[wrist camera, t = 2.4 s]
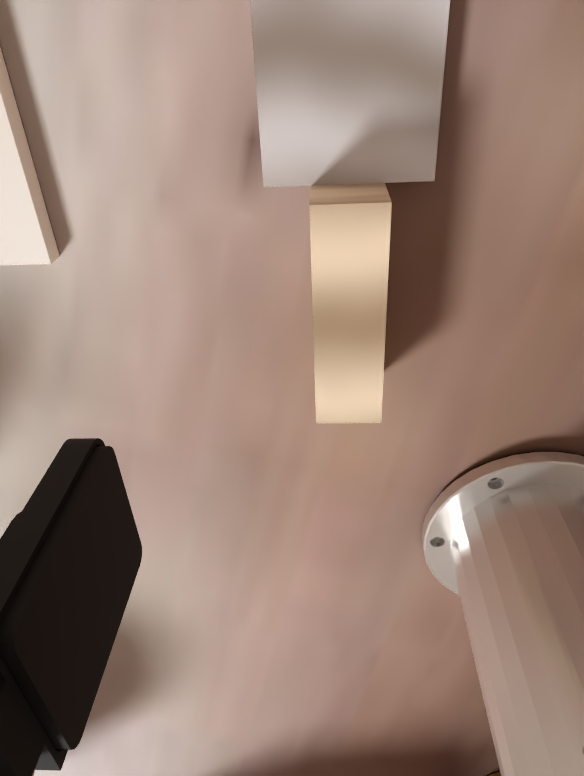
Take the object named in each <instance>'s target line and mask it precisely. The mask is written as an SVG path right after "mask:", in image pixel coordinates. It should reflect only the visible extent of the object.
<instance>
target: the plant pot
mask: <svg viewBox="0 0 584 776" xmlns="http://www.w3.org/2000/svg"><path fill="white" fill-rule="evenodd" d="M488 776H501V772H497V773H494V774H491V775H488Z"/></svg>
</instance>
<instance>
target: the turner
mask: <svg viewBox="0 0 584 776" xmlns="http://www.w3.org/2000/svg"><path fill="white" fill-rule="evenodd" d="M250 8H251V21H252V35H253V49H254V62H255V76H256V89H257V103H258V117H259V130H260V144H261V158H262V171H263V185H264V187H287V186H312V187H311V197H310V236H311V268H312V301H313V334H314V366H315V399H316V423H381V417H382V396H383V375H384V354H385V333H386V312H387V291H388V270H389V249H390V228H391V208H392V202H391V199H390V196H389V193H388V190H387V187H386V185H385V183H396V182H423V181H434V180H435V169H436V157H437V146H438V134H439V123H440V111H441V100H442V88H443V77H444V65H445V54H446V42H447V31H448V19H449V8H450V0H250Z"/></svg>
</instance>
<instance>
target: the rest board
mask: <svg viewBox="0 0 584 776" xmlns="http://www.w3.org/2000/svg"><path fill="white" fill-rule="evenodd" d="M58 257H59V252H58V248H57V245H56V241H55V238H54V234H53V231H52V227H51V224H50V220H49V217H48V213H47V210H46V206H45V203H44V199H43V196H42V192H41V189H40V185H39V182H38V178H37V174H36V171H35V167H34V164H33V160H32V157H31V153H30V150H29V146H28V143H27V139H26V136H25V132H24V129H23V125H22V122H21V118H20V115H19V111H18V108H17V104H16V100H15V97H14V93H13V90H12V86H11V83H10V79H9V76H8V72H7V69H6V65H5V62H4V58H3V55H2V51H1V48H0V265H28V264H51V263H52V262H54V261H55V260H56V259H57V258H58Z"/></svg>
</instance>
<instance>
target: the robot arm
mask: <svg viewBox="0 0 584 776" xmlns="http://www.w3.org/2000/svg"><path fill="white" fill-rule="evenodd" d="M422 543H423V550H424V554H425V559H426V563H427V565H428V567H429V568H430V570H431V572H432V574H433V575H434V576H435V577H436V579H437V580H438V581H439V582H440V583H441V584H442V585H443V586H445V587H446V588H448V589H449V590H451V591H452V592H454V593H455V594H457V595H459V596H460V599H461V603H462V608H463V612H464V616H465V621H466V625H467V629H468V634H469V638H470V642H471V647H472V651H473V655H474V660H475V664H476V668H477V673H478V677H479V681H480V686H481V690H482V694H483V699H484V703H485V707H486V712H487V716H488V720H489V725H490V729H491V733H492V738H493V742H494V746H495V751H496V755H497V759H498V764H499V768H500V772H501V776H584V456H581V455H576V454H569V453H562V452H532V453H525V454H518V455H512V456H509V457H505V458H502V459H498V460H495V461H491V462H489V463H487V464H484V465H482V466H480V467H478V468H475V469H473V470H471V471H470V472H468V473H466V474H465V475H463V476H462V477H460V478H459V479H457V480H455V481H454V482H453V483H452V484H451V485H450V486H448V487H447V488H446V489H445V490H444V491H443V492H442V493H441V494H440V495H439V496H438V498H437V499H436V500H435V502H434V503H433V504H432V505H431V507H430V509H429V511H428V513H427V515H426V518H425V520H424V524H423V529H422ZM141 558H142V546H141V541H140V538H139V534H138V531H137V528H136V524H135V521H134V517H133V514H132V510H131V507H130V504H129V500H128V497H127V493H126V490H125V486H124V483H123V480H122V476H121V473H120V469H119V466H118V462H117V459H116V455H115V452H114V450H113V448H112V447H110V446H105V444H104V442H103V441H102V440H101V439H98V438H96V439H68V440H66V441H65V443H64V444H63V445H62V447H61V449H60V450H59V452H58V454H57V455H56V457H55V458H54V460H53V462H52V463H51V465H50V467H49V468H48V470H47V472H46V473H45V475H44V476H43V478H42V480H41V481H40V483H39V485H38V486H37V488H36V489H35V491H34V493H33V494H32V496H31V498H30V499H29V501H28V502H27V504H26V506H25V507H24V509H23V511H22V512H20V513H18V514H17V515H16V516H15V518H14V519H13V520H12V521H11V523H10V524H9V526H8V528H7V529H6V531H5V532H4V534H3V536H2V537H1V539H0V776H33V773H34V770H61V768H62V765H63V763H64V760H65V757H66V754H67V751H68V750H72V749H75V748H76V747H77V746H78V744H79V742H80V740H81V738H82V735H83V732H84V729H85V726H86V723H87V720H88V717H89V714H90V711H91V708H92V705H93V702H94V700H95V697H96V694H97V691H98V688H99V685H100V682H101V679H102V676H103V673H104V670H105V667H106V664H107V661H108V658H109V655H110V652H111V649H112V646H113V643H114V640H115V637H116V634H117V631H118V628H119V626H120V623H121V620H122V617H123V614H124V611H125V608H126V605H127V602H128V599H129V596H130V593H131V590H132V587H133V584H134V581H135V578H136V575H137V572H138V569H139V566H140V563H141Z"/></svg>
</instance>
